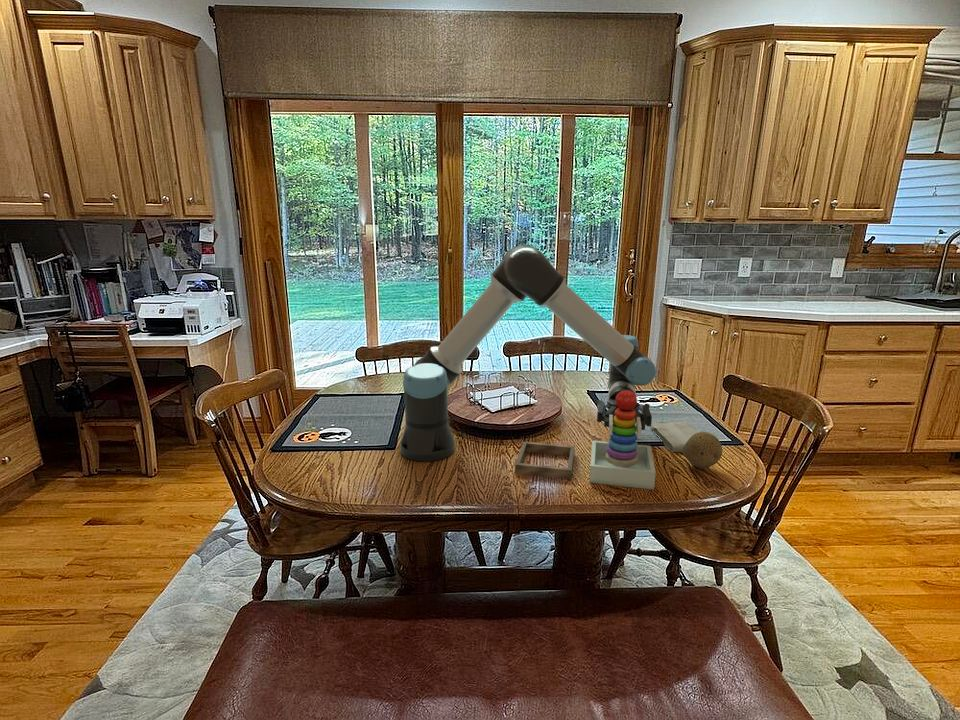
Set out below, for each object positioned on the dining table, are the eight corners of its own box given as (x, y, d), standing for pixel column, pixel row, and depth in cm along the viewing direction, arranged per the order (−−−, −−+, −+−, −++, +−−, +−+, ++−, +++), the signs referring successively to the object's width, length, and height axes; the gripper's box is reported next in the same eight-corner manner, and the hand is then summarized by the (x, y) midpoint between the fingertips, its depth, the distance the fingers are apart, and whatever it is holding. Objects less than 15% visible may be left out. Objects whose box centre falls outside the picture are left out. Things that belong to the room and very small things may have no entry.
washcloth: (684, 427, 158) (685, 418, 157) (714, 453, 141) (715, 443, 140) (646, 428, 157) (647, 419, 156) (672, 455, 140) (673, 444, 139)
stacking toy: (639, 470, 125) (644, 397, 120) (605, 467, 126) (609, 395, 121) (636, 455, 132) (641, 386, 127) (604, 453, 134) (608, 385, 129)
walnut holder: (514, 473, 129) (515, 464, 129) (523, 449, 142) (523, 441, 142) (570, 479, 126) (571, 470, 126) (574, 454, 139) (574, 446, 139)
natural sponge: (720, 480, 126) (726, 443, 123) (682, 474, 129) (686, 437, 126) (718, 464, 134) (722, 428, 131) (681, 458, 137) (685, 424, 134)
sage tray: (589, 482, 125) (590, 465, 124) (591, 455, 139) (592, 440, 138) (653, 489, 121) (655, 472, 120) (649, 461, 135) (650, 445, 134)
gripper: (656, 413, 142) (665, 449, 120) (587, 408, 146) (583, 441, 125) (659, 388, 140) (668, 419, 118) (588, 383, 144) (585, 413, 123)
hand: (625, 431), depth 122 cm, fingers closed on stacking toy, 6 cm apart
